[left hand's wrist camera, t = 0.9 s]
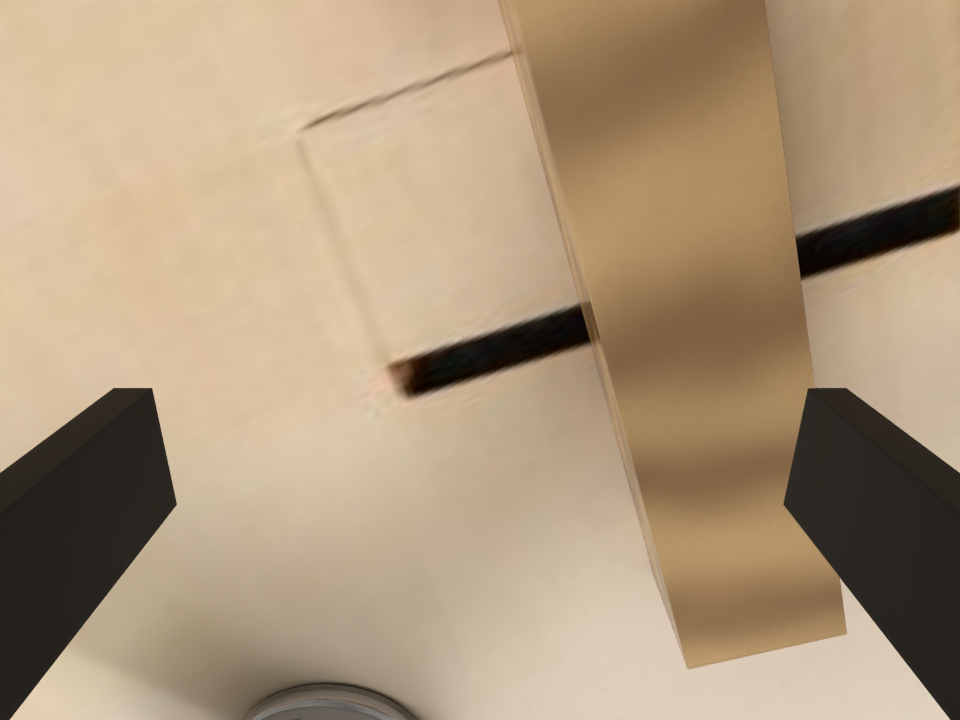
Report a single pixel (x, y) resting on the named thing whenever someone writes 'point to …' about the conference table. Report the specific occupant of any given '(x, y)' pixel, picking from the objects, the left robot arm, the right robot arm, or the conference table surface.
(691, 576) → the wide beam
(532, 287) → the conference table surface
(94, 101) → the conference table surface
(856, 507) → the left robot arm
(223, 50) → the conference table surface
